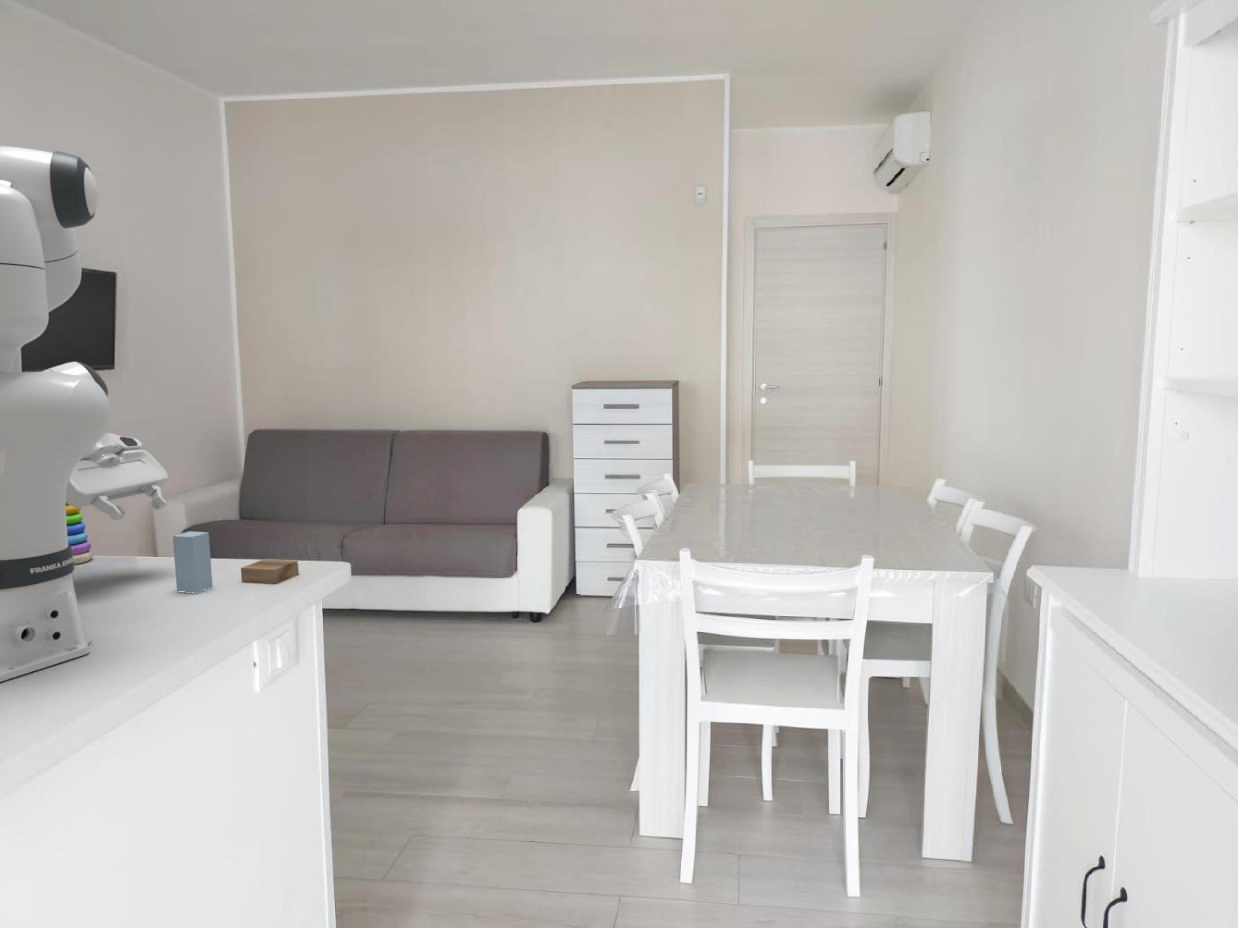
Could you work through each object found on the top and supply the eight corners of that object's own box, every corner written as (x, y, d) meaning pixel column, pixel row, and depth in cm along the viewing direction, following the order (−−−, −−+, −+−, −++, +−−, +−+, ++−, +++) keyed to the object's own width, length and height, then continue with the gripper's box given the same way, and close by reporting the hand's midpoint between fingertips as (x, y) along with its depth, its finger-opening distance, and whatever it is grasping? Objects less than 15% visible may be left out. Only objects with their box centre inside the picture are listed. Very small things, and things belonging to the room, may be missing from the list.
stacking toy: (49, 559, 179) (40, 468, 177) (95, 555, 183) (87, 465, 180) (43, 568, 172) (34, 473, 170) (91, 564, 176) (82, 470, 173)
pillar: (196, 593, 153) (192, 537, 152) (177, 592, 154) (172, 536, 153) (212, 587, 157) (208, 532, 156) (193, 586, 158) (189, 531, 157)
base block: (275, 586, 159) (274, 569, 158) (241, 584, 160) (240, 567, 160) (298, 576, 166) (297, 560, 165) (265, 574, 167) (264, 558, 167)
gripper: (49, 450, 147) (103, 510, 146) (144, 437, 166) (192, 490, 165) (30, 476, 148) (83, 536, 147) (127, 460, 168) (174, 513, 167)
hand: (141, 512), depth 156 cm, fingers open, 8 cm apart
